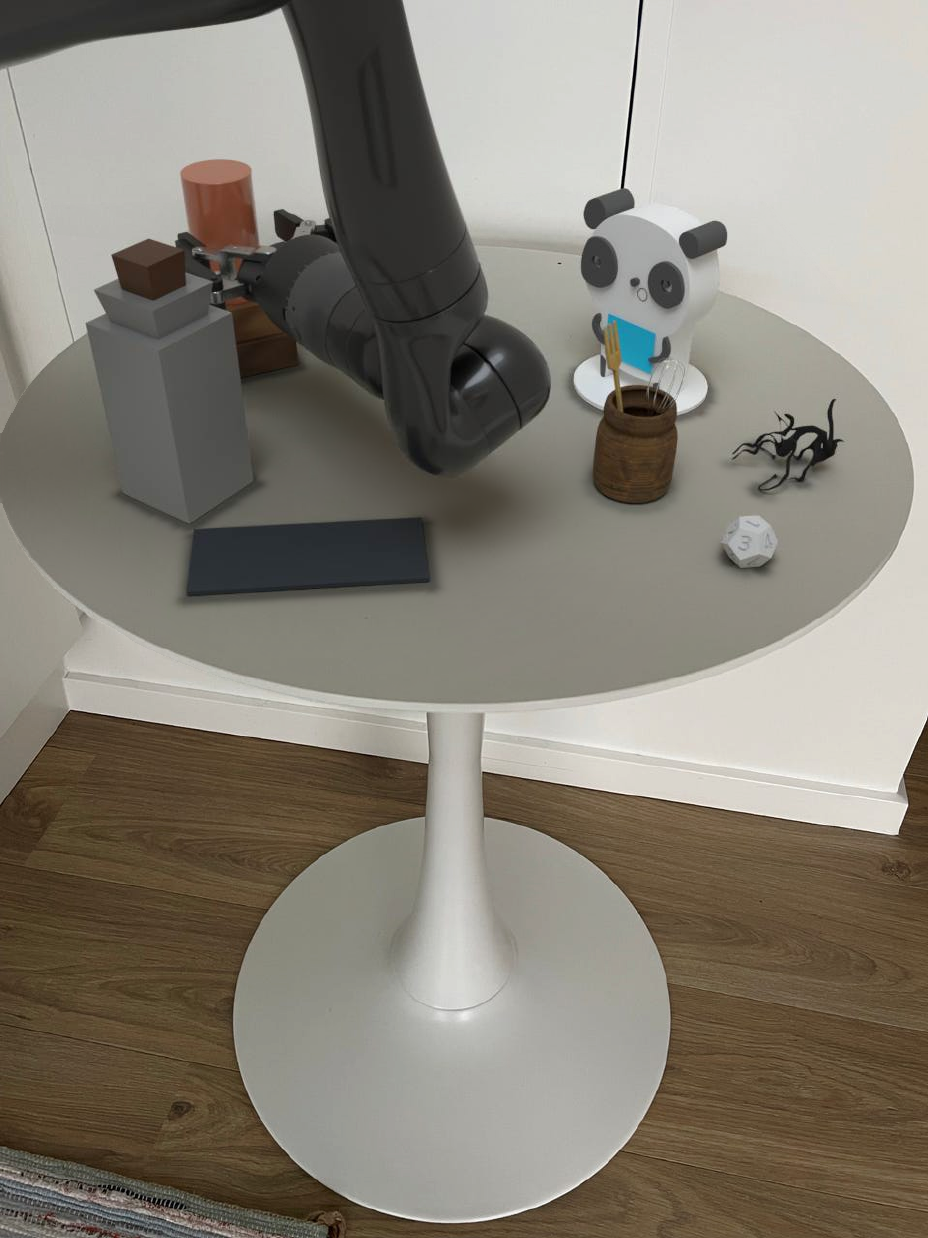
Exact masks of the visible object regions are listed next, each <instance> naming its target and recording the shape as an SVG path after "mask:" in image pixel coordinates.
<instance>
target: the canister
mask: <svg viewBox="0 0 928 1238" xmlns="http://www.w3.org/2000/svg"><path fill="white" fill-rule="evenodd" d="M179 177H180V184H181V191H182V196H183V197H182V198H183V204H184V210H185V217H186V224H187V230H188V231H187V232H188V233H190V234H191V235H192V236H194V237H195V238H196V239H198V240H199V241H200V242H202V243H203V244H205V245H206V247H209V248H216V249H222V248H223V247H224V246H225V245H227V244H232V245H240V246H247V247H254V248H258V247H259V246H261V243H260V233H259V225H258V217H257V216H258V215H257V207H256V196H255V187H254V179H253V170H252V167H251V166H250V165H249V164H248V163H245V162H243V161H239V160H234V159H223V158H219V159H218V158H217V159H216V158H215V159H205V160H199V161H195V162H192V163H190V164H188V165H186V166H184V167H183V168H182V169H180V172H179ZM241 262H242V259H237V258H235V266H236V274H238V271H239V268H240V265H241ZM210 265H211V271H213V272H214V271H220V267H219V264H218V262H216V261H211V260H210ZM225 302H226V305H235V304H242V303H246V302H249V301H248V300H245V299H243V298H242V297H238V298H234V299H231V300H228V301H225Z"/></svg>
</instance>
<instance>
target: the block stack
mask: <svg viewBox="0 0 928 1238" xmlns="http://www.w3.org/2000/svg"><path fill="white" fill-rule="evenodd" d="M226 309H227V310H226V311H229V312H231V313H232V317H233V325H234V333H235V341H236V348H237V356H238V364H239V371H240V379H242V378H247V377H250V376H255V375H259V374H263V373H268V372H272V371H276V370H281V369H285V368H290V367H293V366H298V365H299V356H298V342H296V341H295V340H294V339H292V338H291V337H290V336H288V335H287V334H286V333H285V332H283V331H282V330H281V329H279V328H278V327H277V326H276V325H274V324H273V323H272V322H271V320H270V319H269V318H268V317H267V315H266V314H265V312H264V311H263V309H262V308H261V306H260V305H259V304H258V303H255V302H252V301H249V302H246V303H242V304H235V305H226Z"/></svg>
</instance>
